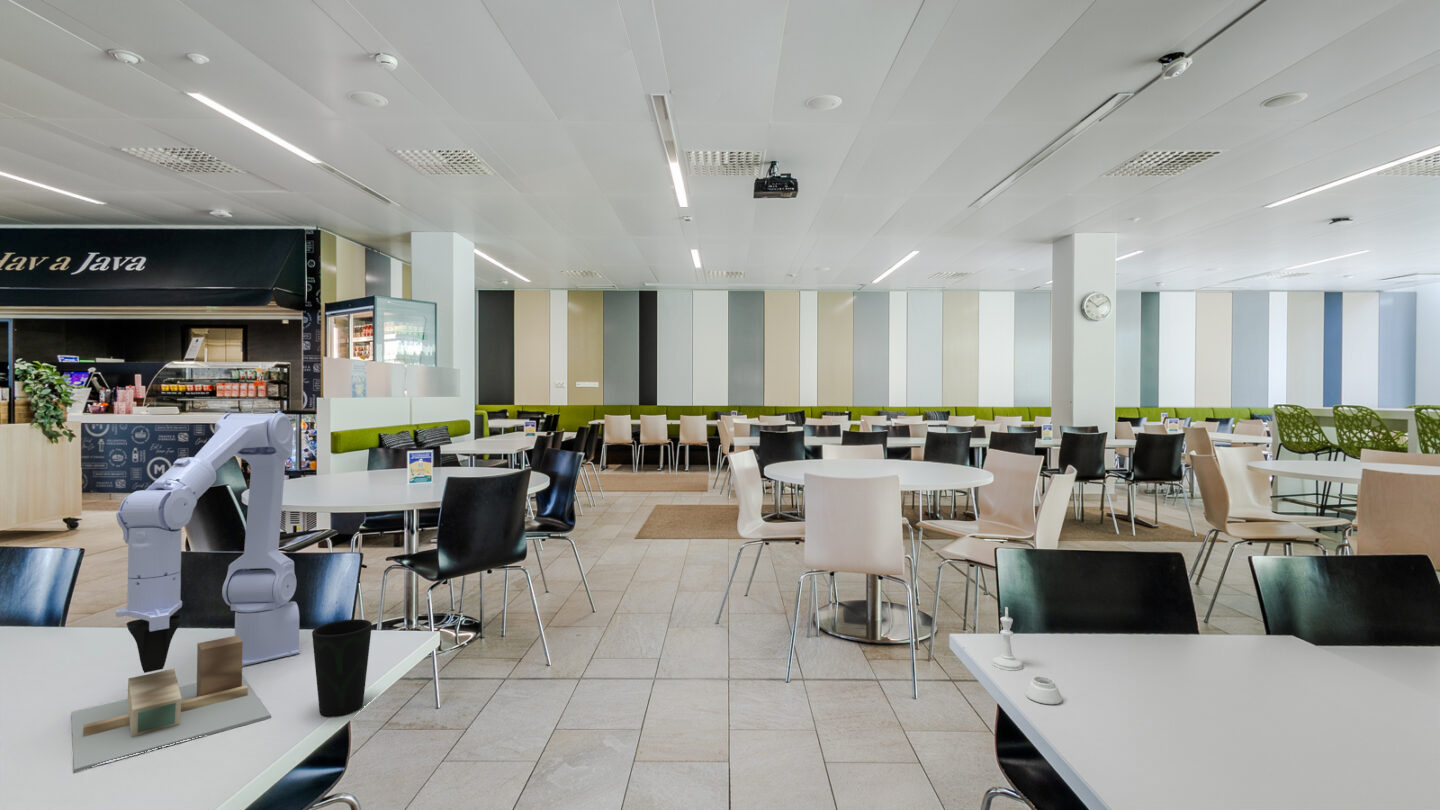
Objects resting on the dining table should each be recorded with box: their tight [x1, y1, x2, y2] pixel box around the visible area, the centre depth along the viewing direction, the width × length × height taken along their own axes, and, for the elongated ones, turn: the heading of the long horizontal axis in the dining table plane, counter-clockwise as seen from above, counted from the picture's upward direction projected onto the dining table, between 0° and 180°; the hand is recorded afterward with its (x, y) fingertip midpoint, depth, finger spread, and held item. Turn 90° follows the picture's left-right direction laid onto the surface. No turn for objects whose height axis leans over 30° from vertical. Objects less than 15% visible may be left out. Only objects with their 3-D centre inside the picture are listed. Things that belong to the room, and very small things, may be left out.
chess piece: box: [991, 606, 1024, 672], centre depth 112 cm, size 5×5×10 cm
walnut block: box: [196, 635, 243, 697], centre depth 99 cm, size 5×4×8 cm
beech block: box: [127, 668, 181, 737], centre depth 90 cm, size 5×4×8 cm
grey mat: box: [70, 674, 272, 773], centre depth 93 cm, size 20×22×1 cm
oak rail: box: [83, 685, 248, 737], centre depth 93 cm, size 18×1×1 cm, turn 136°
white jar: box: [1024, 675, 1063, 705], centre depth 99 cm, size 5×3×5 cm
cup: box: [311, 618, 373, 718], centre depth 96 cm, size 8×8×12 cm
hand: (153, 669), depth 92 cm, fingers closed
